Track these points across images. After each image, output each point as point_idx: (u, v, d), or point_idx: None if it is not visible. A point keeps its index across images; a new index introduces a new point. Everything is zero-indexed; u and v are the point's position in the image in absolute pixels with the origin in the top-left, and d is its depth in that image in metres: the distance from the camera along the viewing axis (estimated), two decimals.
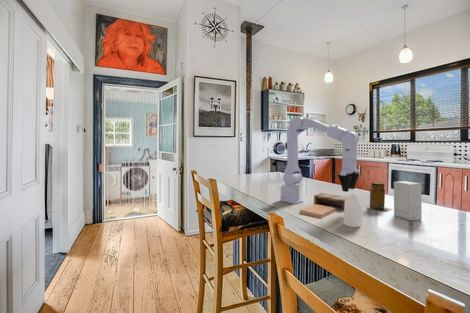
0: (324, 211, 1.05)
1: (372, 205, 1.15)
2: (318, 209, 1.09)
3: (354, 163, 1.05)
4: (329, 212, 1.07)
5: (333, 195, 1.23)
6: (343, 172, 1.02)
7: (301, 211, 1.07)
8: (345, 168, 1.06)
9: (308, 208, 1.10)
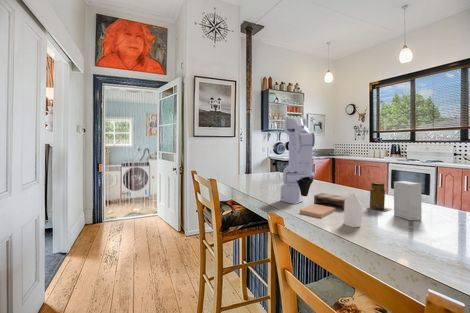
0: (324, 211, 1.05)
1: (372, 205, 1.15)
2: (318, 209, 1.09)
3: (309, 167, 0.97)
4: (329, 212, 1.07)
5: (333, 195, 1.23)
6: (296, 177, 0.94)
7: (301, 211, 1.07)
8: (300, 172, 0.98)
9: (308, 208, 1.10)
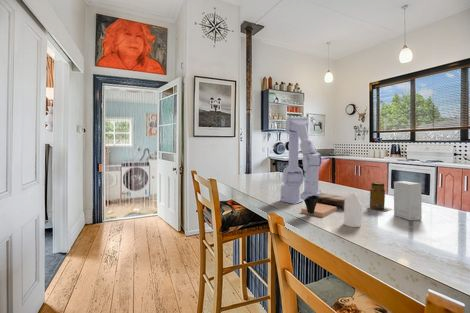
0: (325, 210, 1.06)
1: (372, 205, 1.15)
2: (320, 208, 1.10)
3: (315, 186, 1.01)
4: (330, 211, 1.07)
5: (333, 195, 1.23)
6: (303, 196, 0.99)
7: (303, 210, 1.08)
8: (306, 191, 1.03)
9: None
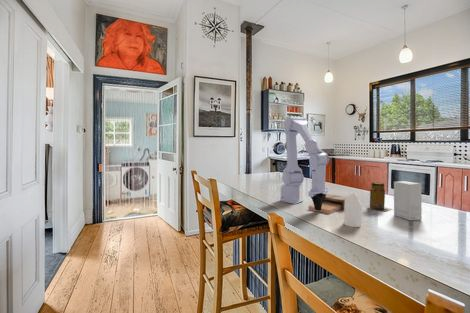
0: (332, 207, 1.10)
1: (372, 205, 1.15)
2: (326, 205, 1.14)
3: (322, 184, 1.06)
4: (337, 208, 1.12)
5: (333, 195, 1.23)
6: (311, 193, 1.04)
7: (310, 207, 1.13)
8: (314, 189, 1.07)
9: None
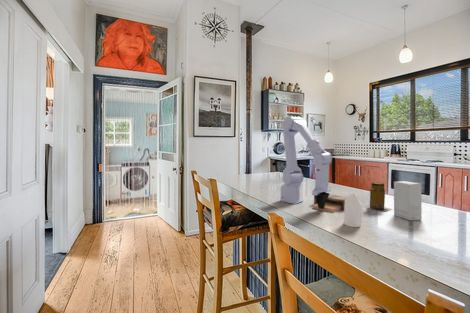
0: (335, 206, 1.13)
1: (372, 205, 1.15)
2: (330, 204, 1.17)
3: (326, 183, 1.09)
4: (340, 207, 1.14)
5: (333, 195, 1.23)
6: (314, 192, 1.06)
7: (314, 206, 1.15)
8: (317, 188, 1.10)
9: None
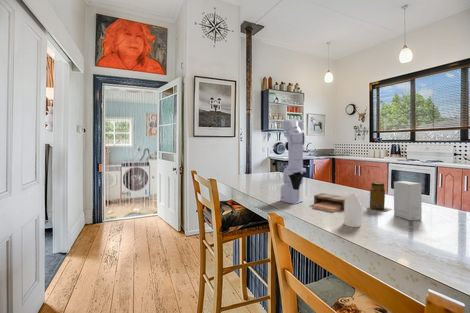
0: (336, 206, 1.13)
1: (372, 205, 1.15)
2: (330, 204, 1.17)
3: (300, 163, 1.07)
4: (340, 207, 1.14)
5: (333, 195, 1.23)
6: (287, 172, 1.05)
7: (314, 206, 1.15)
8: (291, 168, 1.08)
9: (320, 203, 1.18)
